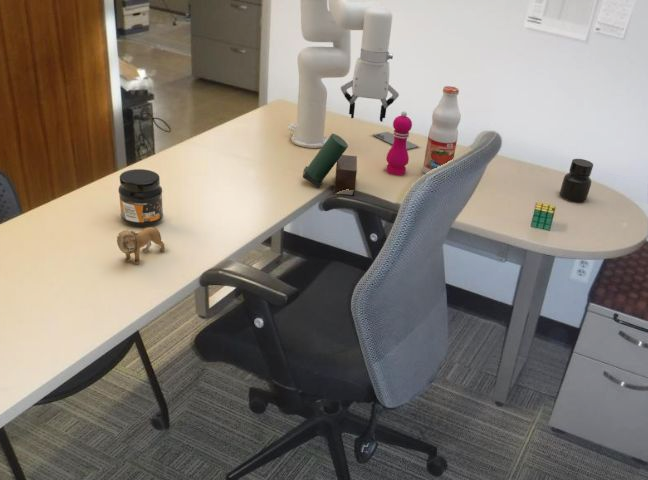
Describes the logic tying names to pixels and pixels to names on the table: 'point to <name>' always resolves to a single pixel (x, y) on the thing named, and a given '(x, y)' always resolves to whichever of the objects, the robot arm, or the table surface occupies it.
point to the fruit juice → (443, 130)
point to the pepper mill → (399, 146)
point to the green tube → (325, 160)
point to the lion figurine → (138, 242)
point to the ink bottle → (577, 181)
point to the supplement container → (140, 198)
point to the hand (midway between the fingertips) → (366, 118)
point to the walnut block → (345, 173)
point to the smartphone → (392, 139)
